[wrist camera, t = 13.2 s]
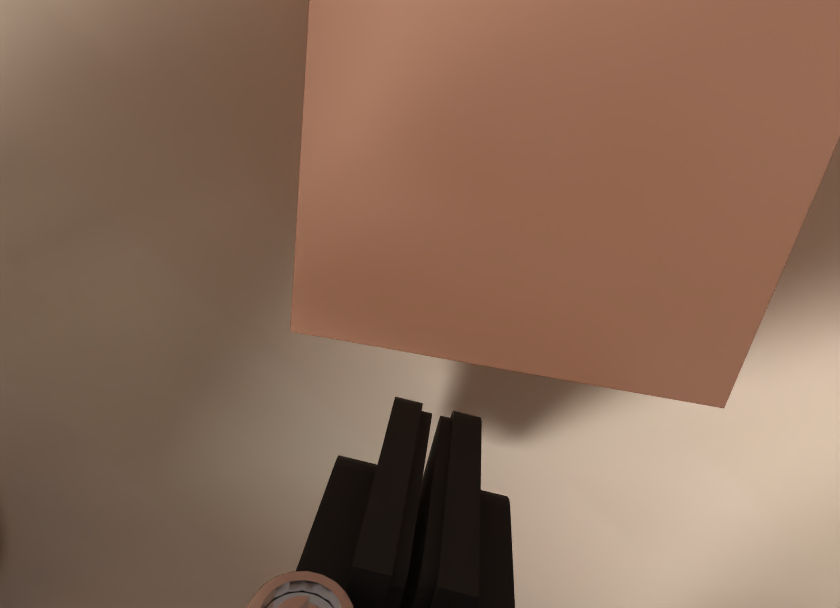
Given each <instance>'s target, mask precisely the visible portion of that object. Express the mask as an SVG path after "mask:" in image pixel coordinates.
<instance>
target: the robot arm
mask: <svg viewBox="0 0 840 608" xmlns="http://www.w3.org/2000/svg"><path fill="white" fill-rule="evenodd" d="M422 405H423V403H419V402H415V401H411V400H407V399H403V398H398V397H395V400H394V404H393V407H392V411H391V415H390V419H389V423H388V427H387V431H386V434H385V438H384V442H383V446H382V450H381V454H380V458H379V461H378V465H376V464H372V463H368V462H364V461H360V460H356V459H351V458H347V457H343V456H338V457H337V459H336V462H335V465H334V467H333V470H332V473H331V476H330V478H329V481H328V484H327V487H326V490H325V492H324V495H323V498H322V501H321V503H320V506H319V509H318V512H317V514H316V517H315V520H314V523H313V526H312V528H311V531H310V534H309V537H308V539H307V542H306V545H305V548H304V550H303V553H302V556H301V559H300V562H299V564H298V567H297V570H296V572H289V573H286V574H283V575H279V576H277V577H275V578H273V579H272V580H270V581H269V582H267V583H266V584H264V585H263V586H262V587H261V588H260V589H259V591H258V592H257V593H256V594H255V595H254V596H253V598H252V600H251V601H250V603H249V604H248V606H247V608H515V599H514V578H513V557H512V537H511V516H510V502H509V498H508V497H507V496H503V495H499V494H495V493H491V492H486V491H482V490H481V428H482V420H481V417H476V416H472V415H468V414H464V413H460V412H456V411H453V412H452V414H451V417H450V418H448V417H444V416H440V418H439V422H438V425H437V429H436V432H435V436H434V439H433V443H432V447H431V450H430V454H429V457H428V461H427V464H426V468H425V472H424V475H423V471H424V465H425V458H426V451H427V444H428V438H429V431H430V424H431V418H432V413H428V412H423V411H422ZM422 478H423V479H422Z"/></svg>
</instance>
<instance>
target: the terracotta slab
mask: <svg viewBox="0 0 840 608" xmlns="http://www.w3.org/2000/svg"><path fill="white" fill-rule="evenodd" d="M839 137H840V0H309V16H308V33H307V50H306V68H305V85H304V102H303V119H302V137H301V154H300V171H299V189H298V206H297V223H296V240H295V258H294V275H293V292H292V309H291V327H290V331H291V332H297V333H303V334H308V335H314V336H320V337H325V338H331V339H337V340H342V341H348V342H353V343H359V344H365V345H370V346H376V347H382V348H387V349H393V350H398V351H404V352H410V353H415V354H421V355H427V356H432V357H438V358H443V359H449V360H455V361H460V362H466V363H472V364H477V365H483V366H488V367H494V368H500V369H505V370H511V371H517V372H522V373H528V374H533V375H539V376H545V377H550V378H556V379H562V380H567V381H573V382H578V383H584V384H590V385H595V386H601V387H607V388H612V389H618V390H623V391H629V392H635V393H640V394H646V395H652V396H657V397H663V398H668V399H674V400H680V401H685V402H691V403H697V404H702V405H708V406H714V407H719V408H724V407H725V405H726V403H727V400H728V398H729V396H730V393H731V391H732V389H733V386H734V384H735V381H736V379H737V377H738V374H739V372H740V370H741V367H742V365H743V363H744V360H745V358H746V356H747V353H748V351H749V349H750V346H751V344H752V342H753V339H754V337H755V335H756V332H757V330H758V328H759V325H760V323H761V320H762V318H763V316H764V313H765V311H766V309H767V306H768V304H769V302H770V299H771V297H772V295H773V292H774V290H775V288H776V285H777V283H778V281H779V278H780V276H781V274H782V271H783V269H784V266H785V264H786V262H787V259H788V257H789V255H790V252H791V250H792V248H793V245H794V243H795V241H796V238H797V236H798V234H799V231H800V229H801V227H802V224H803V222H804V220H805V217H806V215H807V213H808V210H809V208H810V205H811V203H812V201H813V198H814V196H815V194H816V191H817V189H818V187H819V184H820V182H821V180H822V177H823V175H824V173H825V170H826V168H827V166H828V163H829V161H830V159H831V156H832V154H833V151H834V149H835V147H836V144H837V142H838V140H839Z"/></svg>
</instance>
